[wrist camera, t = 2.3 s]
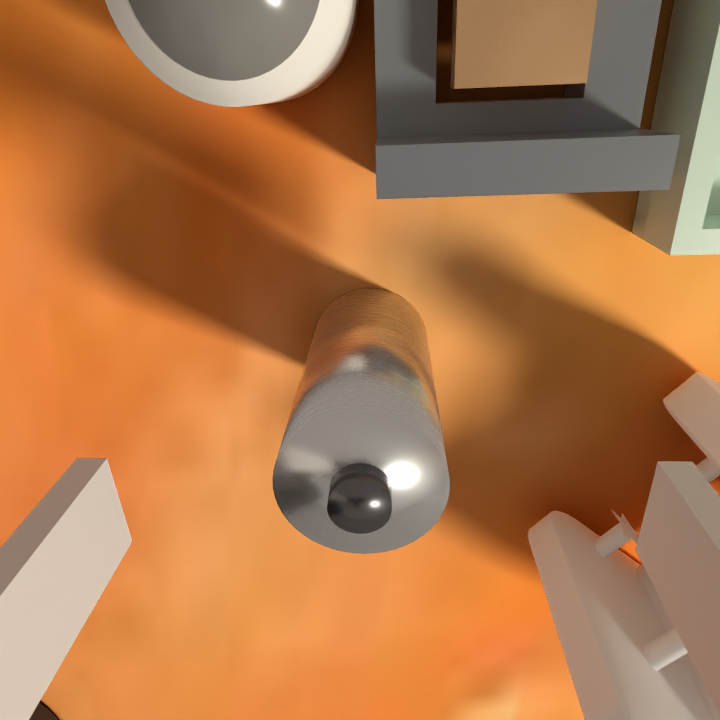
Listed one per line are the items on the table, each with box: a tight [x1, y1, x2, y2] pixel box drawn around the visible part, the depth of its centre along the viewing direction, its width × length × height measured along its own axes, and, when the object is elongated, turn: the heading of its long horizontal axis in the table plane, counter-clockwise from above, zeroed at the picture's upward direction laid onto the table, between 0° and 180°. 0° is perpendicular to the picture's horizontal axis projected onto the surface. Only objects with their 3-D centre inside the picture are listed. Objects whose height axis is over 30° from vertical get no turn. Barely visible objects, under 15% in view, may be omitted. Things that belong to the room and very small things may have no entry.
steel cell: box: [273, 288, 450, 554], centre depth 18 cm, size 5×5×10 cm
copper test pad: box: [451, 0, 597, 89], centre depth 15 cm, size 4×4×1 cm
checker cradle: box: [374, 0, 681, 199], centre depth 15 cm, size 8×9×5 cm
